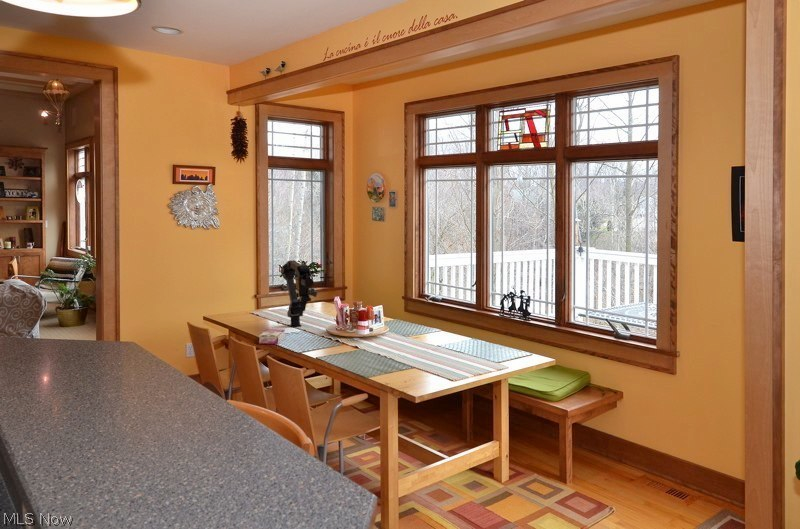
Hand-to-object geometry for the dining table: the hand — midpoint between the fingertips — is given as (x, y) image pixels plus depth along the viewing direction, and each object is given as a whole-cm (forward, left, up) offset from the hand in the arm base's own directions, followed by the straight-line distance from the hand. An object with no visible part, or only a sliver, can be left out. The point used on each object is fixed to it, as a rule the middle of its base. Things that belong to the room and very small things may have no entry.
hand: (303, 310), depth 394 cm
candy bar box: (+13, -19, -10) cm, 25 cm away
